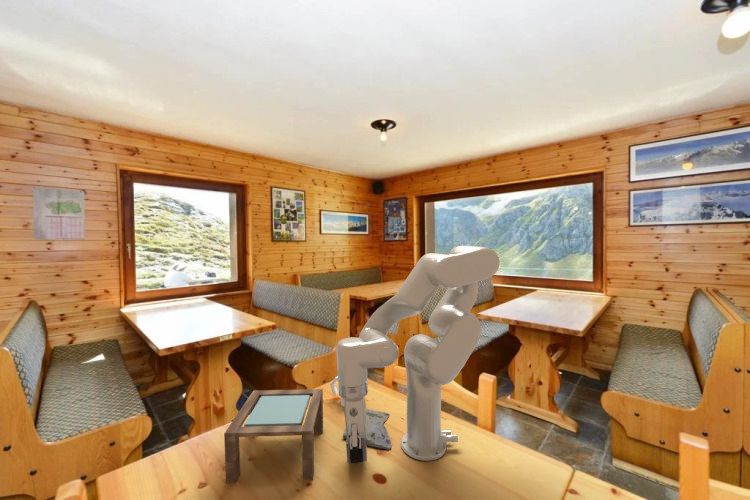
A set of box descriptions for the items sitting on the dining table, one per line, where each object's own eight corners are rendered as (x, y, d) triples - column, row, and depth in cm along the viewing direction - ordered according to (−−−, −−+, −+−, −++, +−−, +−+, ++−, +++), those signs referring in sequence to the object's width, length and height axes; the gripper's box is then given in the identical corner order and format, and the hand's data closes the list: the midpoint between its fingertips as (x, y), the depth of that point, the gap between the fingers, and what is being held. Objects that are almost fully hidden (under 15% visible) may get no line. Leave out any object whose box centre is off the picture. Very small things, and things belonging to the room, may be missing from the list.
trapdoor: (310, 398, 97) (310, 395, 97) (301, 426, 83) (301, 423, 83) (261, 399, 96) (261, 396, 96) (244, 428, 82) (244, 424, 82)
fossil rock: (354, 412, 111) (354, 405, 111) (398, 417, 108) (398, 410, 108) (339, 445, 94) (339, 437, 94) (390, 452, 91) (390, 444, 91)
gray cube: (366, 447, 88) (365, 430, 88) (366, 461, 83) (365, 442, 83) (348, 449, 88) (347, 431, 87) (347, 462, 83) (346, 444, 82)
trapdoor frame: (323, 428, 101) (322, 389, 100) (312, 480, 80) (311, 431, 79) (254, 430, 100) (253, 390, 100) (225, 482, 79) (224, 433, 79)
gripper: (368, 404, 76) (372, 478, 77) (367, 371, 93) (370, 432, 94) (335, 406, 75) (340, 480, 77) (340, 372, 92) (344, 434, 94)
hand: (357, 453), depth 85 cm, fingers closed on gray cube, 5 cm apart
